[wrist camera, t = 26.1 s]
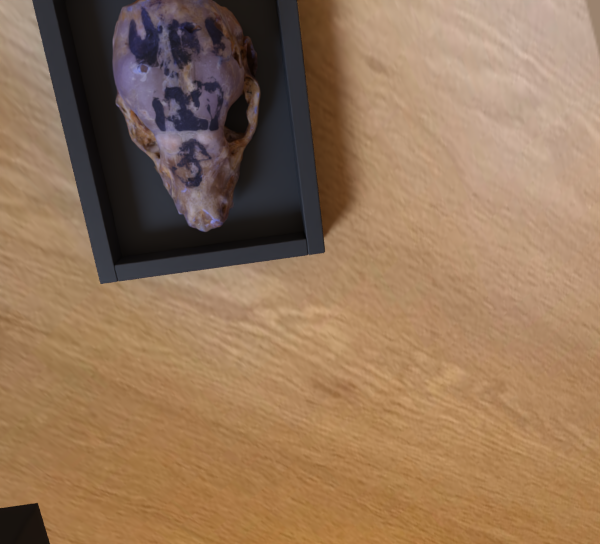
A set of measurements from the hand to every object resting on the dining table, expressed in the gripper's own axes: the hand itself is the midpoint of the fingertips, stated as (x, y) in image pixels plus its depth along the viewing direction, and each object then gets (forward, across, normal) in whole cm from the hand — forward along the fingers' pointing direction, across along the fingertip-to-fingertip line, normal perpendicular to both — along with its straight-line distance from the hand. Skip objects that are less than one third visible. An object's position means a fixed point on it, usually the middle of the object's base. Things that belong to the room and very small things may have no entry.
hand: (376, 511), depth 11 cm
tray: (+24, -5, +8) cm, 26 cm away
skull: (+23, -5, +8) cm, 25 cm away
